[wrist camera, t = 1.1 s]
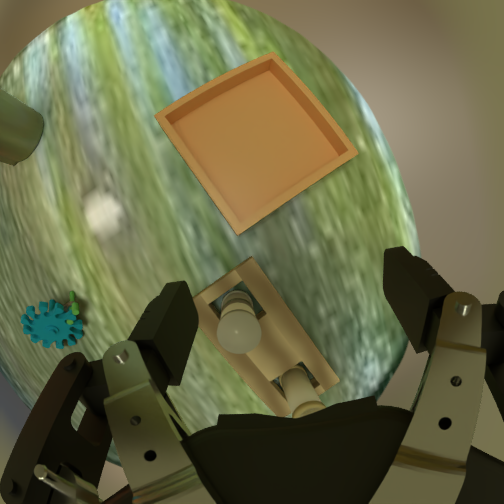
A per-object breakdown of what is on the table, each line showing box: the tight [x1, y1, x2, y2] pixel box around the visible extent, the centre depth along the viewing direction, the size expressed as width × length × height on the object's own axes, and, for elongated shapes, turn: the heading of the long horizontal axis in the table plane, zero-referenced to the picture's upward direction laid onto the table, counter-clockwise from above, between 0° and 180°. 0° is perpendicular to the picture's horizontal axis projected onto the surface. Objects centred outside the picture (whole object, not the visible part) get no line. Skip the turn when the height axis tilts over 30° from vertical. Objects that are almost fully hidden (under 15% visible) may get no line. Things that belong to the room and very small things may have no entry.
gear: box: [21, 291, 83, 349], centre depth 30 cm, size 11×6×10 cm
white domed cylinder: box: [217, 289, 261, 354], centre depth 28 cm, size 4×4×11 cm
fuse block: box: [192, 256, 340, 417], centre depth 33 cm, size 10×21×2 cm, turn 35°
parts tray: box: [154, 52, 359, 236], centre depth 31 cm, size 18×18×4 cm
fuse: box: [278, 364, 326, 418], centre depth 29 cm, size 4×4×11 cm
